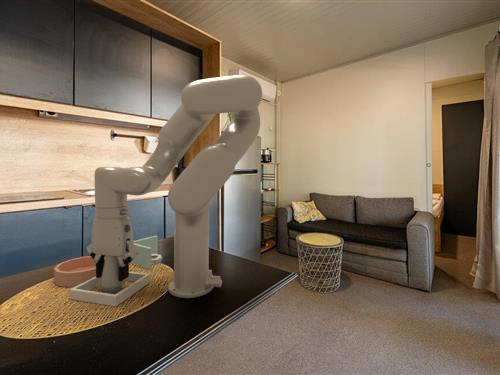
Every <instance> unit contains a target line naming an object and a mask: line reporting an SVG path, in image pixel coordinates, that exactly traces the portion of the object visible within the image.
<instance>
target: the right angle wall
mask: <svg viewBox="0 0 500 375" xmlns="http://www.w3.org/2000/svg"><path fill="white" fill-rule="evenodd" d="M158 239H159V236H158V235H153V236H149V237H145V238H140V239H136V240H134V247H135V248H136V249H137V250H138V251H139V254H138V255H137V256H136V257H135V258H134V259H133V260H132V261H131V263H130V264H133V265H135V266H138V267H141V268H143V269H147V270H152V265H157V264H161V262H162V261H163V256H162V254H158V252H159V240H158ZM128 254H129V255H130V252H128Z"/></svg>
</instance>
